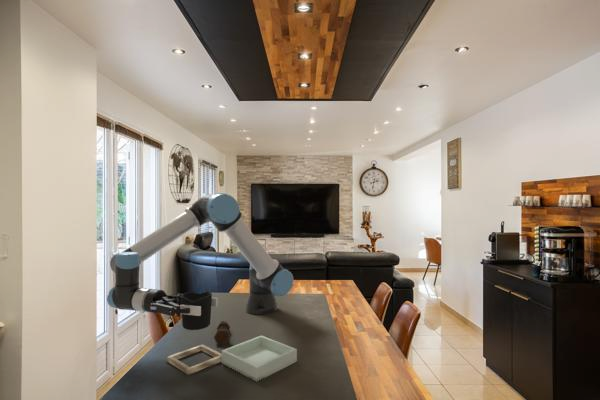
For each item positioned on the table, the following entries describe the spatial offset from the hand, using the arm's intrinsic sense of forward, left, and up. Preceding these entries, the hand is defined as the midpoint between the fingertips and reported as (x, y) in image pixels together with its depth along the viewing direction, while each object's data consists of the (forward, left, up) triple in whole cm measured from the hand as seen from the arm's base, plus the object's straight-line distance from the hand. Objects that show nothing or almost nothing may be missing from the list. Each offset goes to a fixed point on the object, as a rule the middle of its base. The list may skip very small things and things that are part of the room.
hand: (208, 306), depth 109 cm
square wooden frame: (+2, -4, -18) cm, 18 cm away
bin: (-11, +12, -18) cm, 24 cm away
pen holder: (+2, -4, -7) cm, 8 cm away
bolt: (-16, -15, -18) cm, 29 cm away
